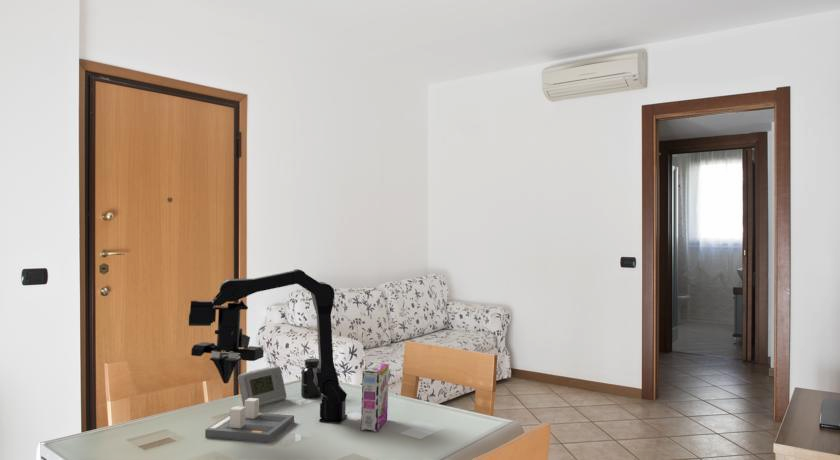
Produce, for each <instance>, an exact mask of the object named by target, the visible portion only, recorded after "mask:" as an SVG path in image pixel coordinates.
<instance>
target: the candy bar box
mask: <svg viewBox="0 0 840 460" xmlns="http://www.w3.org/2000/svg"><path fill="white" fill-rule="evenodd" d="M389 367H390V364H389V363H381V362H380V363H375V362H373V363H372V364H371V365H370V366H368V367H366V368H365V369H364V370H363V371H362V377H361V378H362V379H361V382H362V383H361V385H362V386H361V409H360V410H361V412H360V413H361V416H360V418H361V421H360V431H364V432H373V433H377V432H378V431H379V430H380V428H382V426H383V425H384V424H385V422H386V421H387V420H388V408H389V407H388V405H389V404H388V403H389V402H388V399H389V394H388V393H389V372H390V371H389V370H390V369H389Z"/></svg>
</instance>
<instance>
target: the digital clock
mask: <svg viewBox="0 0 840 460" xmlns="http://www.w3.org/2000/svg"><path fill="white" fill-rule="evenodd" d="M283 377H284V376H283V373H282V368H281V367H280V366H279V365H276V366H271V367H265V368H261V369H256V370H255V369H254V370H251V371H248V372H244V373H240V374H238V375H237V381H238V387H239V392H240V396H241V402H242V407H244V402H245V400H247V399H248V398H258V399H259V408H263V407H266V406H269V405H274V404H276V403H277V404H278V403H279V402H281V401H284V400H286V399H287V391H286V386H285V382H284V378H283Z"/></svg>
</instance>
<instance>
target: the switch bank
mask: <svg viewBox="0 0 840 460" xmlns="http://www.w3.org/2000/svg"><path fill="white" fill-rule="evenodd" d="M294 423H295V415H294V414H279V413H268V412H259V416H257V417H256V418H254V419H252V418H245V425H244V426H243V427H241V428H231V427H230V414H228V415H227V416H225V417H224V418H222V419H220V420H218V421H217V422H215V423H214V424H212V425H210V426H209V427H208V428H206V429H205V431H204V432H205V433H204V436H205V438H212V439H220V440H221V439H223V440H236V441H246V442H259V443H269V444H270V442H272V441H273V440H274V439H276V438H277V437H278V436H279V435H280V434H282V433H283V432H284V431H285V430H287V429H288V428H289V427H291V425H293V424H294Z"/></svg>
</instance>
